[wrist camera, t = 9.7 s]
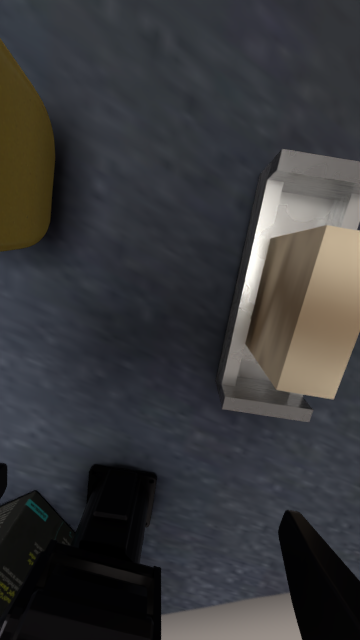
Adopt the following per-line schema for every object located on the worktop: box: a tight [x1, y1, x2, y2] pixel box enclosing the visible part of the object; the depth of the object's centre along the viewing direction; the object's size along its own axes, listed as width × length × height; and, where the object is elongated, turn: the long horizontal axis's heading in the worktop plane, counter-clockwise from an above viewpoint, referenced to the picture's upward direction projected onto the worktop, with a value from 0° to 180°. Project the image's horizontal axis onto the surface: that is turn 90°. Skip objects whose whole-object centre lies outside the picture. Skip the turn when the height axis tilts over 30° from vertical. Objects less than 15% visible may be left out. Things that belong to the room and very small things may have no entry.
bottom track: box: [216, 149, 360, 422], centre depth 17 cm, size 16×6×4 cm, turn 171°
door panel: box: [245, 225, 360, 399], centre depth 15 cm, size 8×3×7 cm, turn 170°
